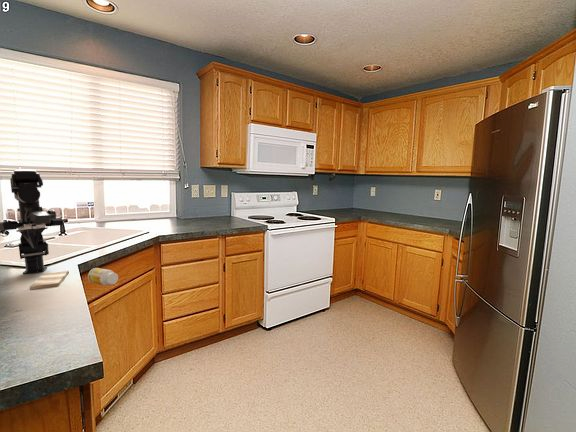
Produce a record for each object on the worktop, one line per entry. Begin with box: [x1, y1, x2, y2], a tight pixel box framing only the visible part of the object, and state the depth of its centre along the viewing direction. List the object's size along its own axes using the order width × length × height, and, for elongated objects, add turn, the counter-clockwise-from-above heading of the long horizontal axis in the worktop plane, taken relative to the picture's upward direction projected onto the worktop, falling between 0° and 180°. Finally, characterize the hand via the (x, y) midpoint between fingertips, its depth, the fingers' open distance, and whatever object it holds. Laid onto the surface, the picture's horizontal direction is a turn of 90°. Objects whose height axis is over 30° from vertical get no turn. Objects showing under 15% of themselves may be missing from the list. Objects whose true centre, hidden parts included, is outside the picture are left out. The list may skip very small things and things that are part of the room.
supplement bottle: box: [87, 267, 119, 286], centre depth 109 cm, size 5×5×10 cm
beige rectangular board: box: [29, 270, 70, 290], centre depth 114 cm, size 16×8×1 cm, turn 25°
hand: (34, 248), depth 112 cm, fingers closed
